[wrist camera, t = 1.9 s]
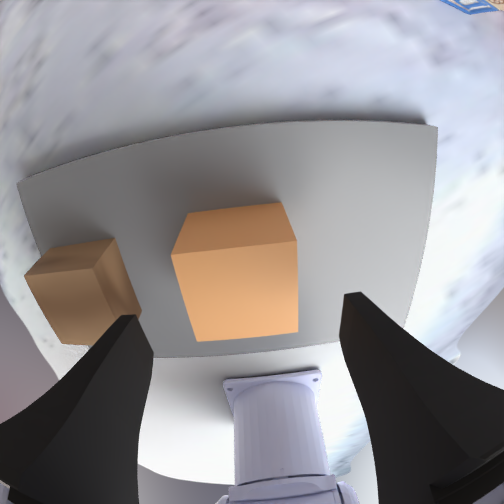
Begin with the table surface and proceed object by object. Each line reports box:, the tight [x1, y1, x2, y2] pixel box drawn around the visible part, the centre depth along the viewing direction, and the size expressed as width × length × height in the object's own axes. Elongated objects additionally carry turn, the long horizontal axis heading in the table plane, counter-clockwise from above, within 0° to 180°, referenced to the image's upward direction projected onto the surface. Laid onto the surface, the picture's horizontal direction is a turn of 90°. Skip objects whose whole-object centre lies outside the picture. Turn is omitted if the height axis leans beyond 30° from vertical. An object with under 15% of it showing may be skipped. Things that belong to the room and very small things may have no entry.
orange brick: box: [171, 202, 298, 342], centre depth 13 cm, size 4×4×4 cm
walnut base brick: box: [24, 238, 142, 345], centre depth 14 cm, size 5×5×3 cm
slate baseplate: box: [17, 120, 438, 358], centre depth 15 cm, size 14×24×1 cm, turn 96°
